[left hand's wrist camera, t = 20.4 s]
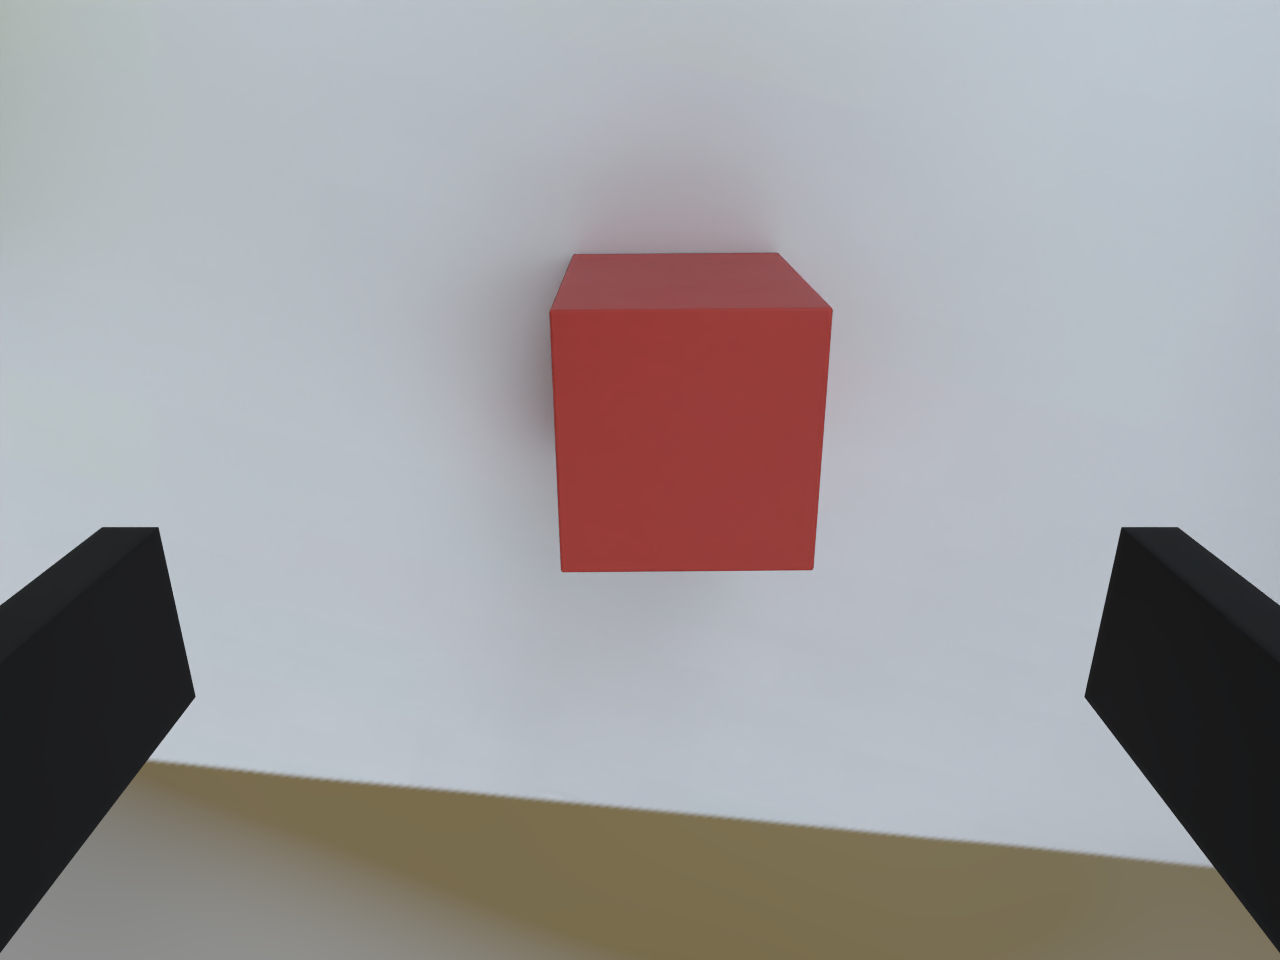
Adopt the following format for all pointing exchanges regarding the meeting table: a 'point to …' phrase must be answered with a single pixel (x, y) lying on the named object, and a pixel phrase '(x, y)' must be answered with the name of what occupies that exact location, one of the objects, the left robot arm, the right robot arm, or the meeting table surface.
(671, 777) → the meeting table surface
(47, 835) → the left robot arm
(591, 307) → the brick
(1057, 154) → the meeting table surface
